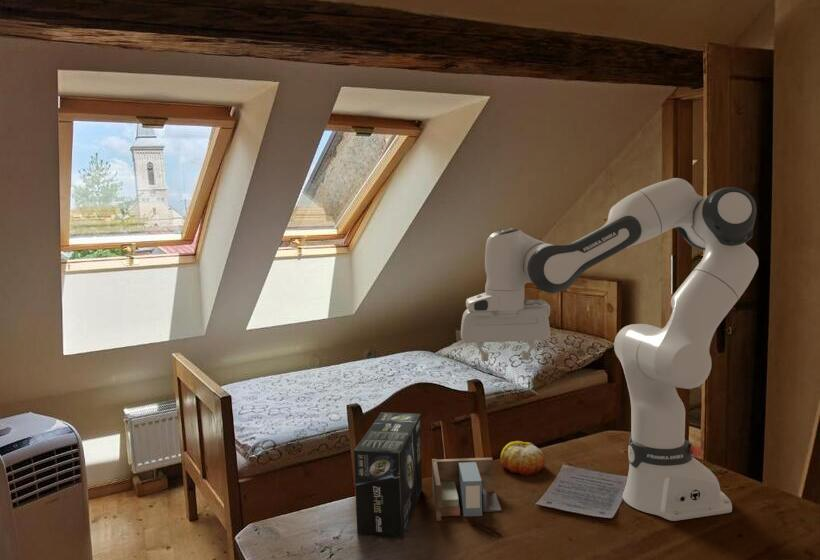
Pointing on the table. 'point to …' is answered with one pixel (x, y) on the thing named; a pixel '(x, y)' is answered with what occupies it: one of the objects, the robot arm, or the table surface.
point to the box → (388, 475)
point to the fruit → (522, 458)
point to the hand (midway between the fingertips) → (505, 360)
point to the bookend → (489, 501)
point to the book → (470, 489)
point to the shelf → (455, 483)
